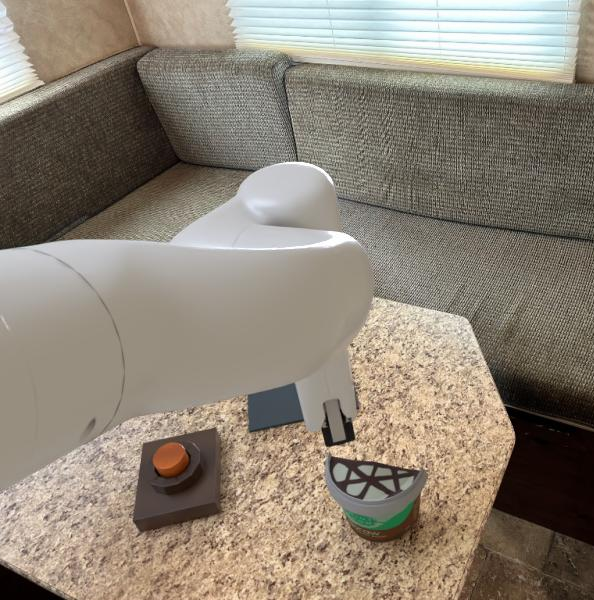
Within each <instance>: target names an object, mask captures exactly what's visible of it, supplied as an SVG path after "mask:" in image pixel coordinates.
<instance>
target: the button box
mask: <svg viewBox="0 0 594 600" xmlns="http://www.w3.org/2000/svg"><path fill="white" fill-rule="evenodd" d="M169 443H179V444H181V445H182V446H183V447H184V449H185V451H186V453H187V455H188V457H189V464H188V467H187V468H186V470H185V471H184V472H182V473H181V474H179V475H178V476H176V477H172V478H165V477H162V476H161V475H160V474H159V473H158V471H157V469H156V467H155V466H154V464H153V456H154V454H155V453H156V451H157V450H158V449H159V448H160V447H162V446H164V445H166V444H169ZM136 484H137V485H136V493H135V499H134V507H133V514H132V522H133V524H134V526H135V527H136V528H137V530H138V531H139V533H142V532H147V531H151V530H155V529H159V528H163V527H169V526H172V525H176V524H180V523H185V522H188V521H193V520H199V519H202V518H206V517H211V516H215V515H219V514H221V501H222V500H221V496H222V495H221V494H222V492H221V490H222V489H221V487H222V485H221V484H222V437H221V435H220V433H219V430H218V428H217V427H211V428H207V429H206V428H205V429H202V430H201V429H200V430H197V431H193V432H187V433H184V434H179V435H174V436H170V437H165V438H161V439H155V440H152V441H147V442H143V443H142V447H141V454H140V463H139V470H138V477H137V483H136Z"/></svg>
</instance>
